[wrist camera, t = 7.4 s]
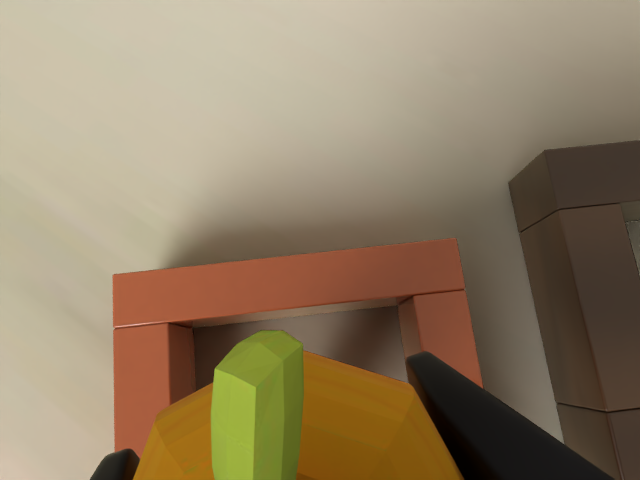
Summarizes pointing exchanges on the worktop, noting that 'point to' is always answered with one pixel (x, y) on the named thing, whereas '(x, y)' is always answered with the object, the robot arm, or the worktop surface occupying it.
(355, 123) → the worktop surface
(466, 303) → the frame
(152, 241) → the worktop surface
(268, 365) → the carrot
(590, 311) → the rack
